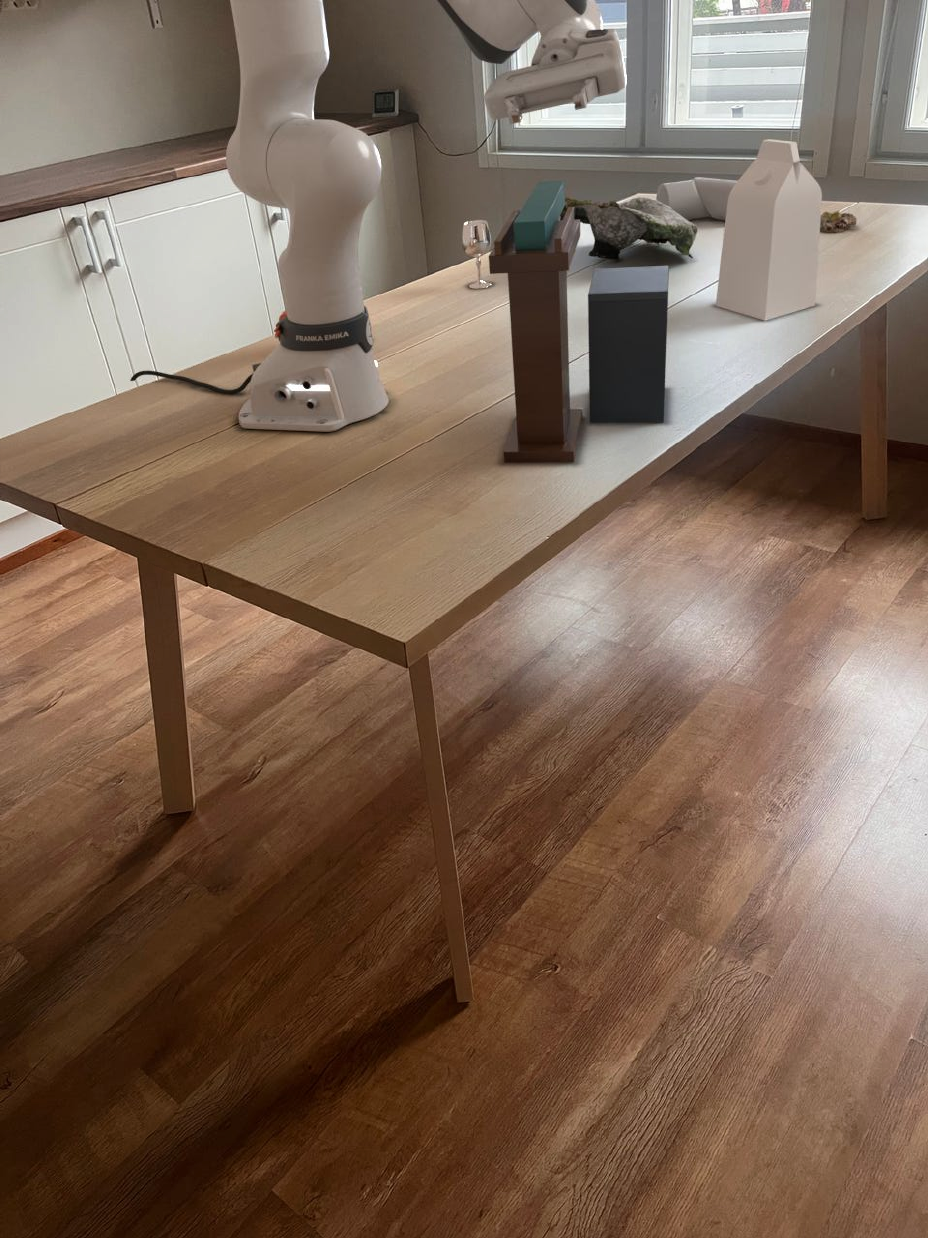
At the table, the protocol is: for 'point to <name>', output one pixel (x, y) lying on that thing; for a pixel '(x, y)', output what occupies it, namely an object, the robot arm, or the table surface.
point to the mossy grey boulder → (632, 225)
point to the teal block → (539, 216)
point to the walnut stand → (540, 343)
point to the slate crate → (627, 344)
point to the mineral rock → (837, 221)
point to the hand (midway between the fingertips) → (546, 110)
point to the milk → (771, 236)
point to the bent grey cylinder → (697, 197)
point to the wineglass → (477, 245)
